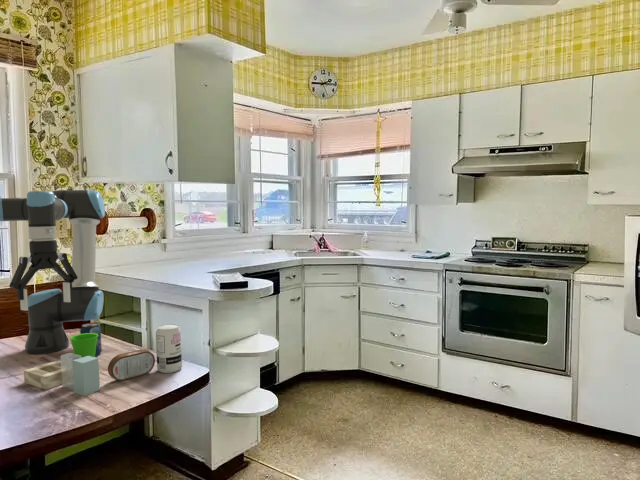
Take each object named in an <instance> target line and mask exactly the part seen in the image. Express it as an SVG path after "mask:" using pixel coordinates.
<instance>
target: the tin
mask: <svg viewBox="0 0 640 480" xmlns="http://www.w3.org/2000/svg"><path fill="white" fill-rule="evenodd" d="M155 364H156V358H155V355H154V354H153V353H152V352H151V351H150V350H149V349H146V348H144V349H143V348H142V349H141V348H140V349H138V350H134V351H133V350H132V351H127V352H124V353H119V354H117V355H115V356H114V357H112V359H111V360H110V361H109V363H108V366H107V373H108V375H109V377H110V378H112V379H115V381H119V382H120V381H122V382H123V381H126V380H130V379H133V378H137V377H141V376H145V375H148V374H149V373H150V372H151V371H152V370H153V368H154V366H155Z"/></svg>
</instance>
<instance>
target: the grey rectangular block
mask: <svg viewBox="0 0 640 480" xmlns="http://www.w3.org/2000/svg"><path fill="white" fill-rule="evenodd" d="M79 358H81V355H77V354H74V352H73V353H72V352H68V353H64V354H61V355H60V363H61V373H62V384H61V387H62V388H66V389H68V388H69V389H68V390H72V391H74V372H73V360H76V359H79Z"/></svg>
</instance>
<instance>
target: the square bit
mask: <svg viewBox="0 0 640 480" xmlns="http://www.w3.org/2000/svg"><path fill="white" fill-rule="evenodd" d="M99 366H100V365H99V357H91V356H86V357H83V358H79V359H76V360H73V372H74V390H73V392H74V393H75V394H76V395H77V394H78V395H81V396H85V397H86V396H88V395H91V394H93V393H95V391H96V392H98V391H100V390H101V388H100V387H101V386H100V384H101V383H100V368H99ZM90 393H91V394H90Z"/></svg>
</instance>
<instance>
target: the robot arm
mask: <svg viewBox="0 0 640 480" xmlns="http://www.w3.org/2000/svg"><path fill="white" fill-rule="evenodd" d="M105 216H106V207H105V201H104V199H103V196H102V194H101V192H100V191H98V190H95V189H94V190H92V189H68V190H66V189H59V190H52V191H51V190H32V191H31V190H30V191H28V192H27V193H26V196H20V197H7V198H5V197H4V198H2V197H0V222H18V221H19V222H21V221H26V222H28V223H27V224H28V227H27V229H28V239H29V240H30V241H28V242H29V243H28V245H29V252H30V255H29V256H28V257H27V256H20V257H19V258H18V259H19V261H18V265H17V268H16V269H15V272H14V275H13V276H12V279H11V280H10V283H9V289H10V288H11V289H14V290H16V299H17V300H18V301H19V303H20V311H27V316H28V330H29V331H28V334H27V338H26V342H25V346H24V352H25V353H26V354H31V355H43V354H51V353H54V352H55V353H56V352H59V351H62V350H65V349H66V348H68V347H69V345H70V342H69V340H70V339H69V337H68V335H67V333H66V331H65V328H64V323H65V322H80V321H82V322H88V321H94V320H97V319H99V317H100V316H101V315H102V311H103V307H104V300H105V299H104V295H105V294H104V291H102V290H100V286H99V285H98V284H97V283H96V254H97V252H96V250H97V249H96V247H97V246H96V245H97V225H99V224H100V223H101V219H103V218H104V217H105ZM62 219H68V222H69V223H70V224H71V225H72V254H71V255H72V256H71V263H70V261H69V259H68V254H67V252H60V253H57V251H58V241H57V240H56V238H57V228H56V227H57V224H56V222H57V221H59V220H62ZM58 260H59V262H60V263H61V265H62V267H63V268H64V269H63V268H62V267H61V266H60V265H59V263H58V262H57V261H58ZM29 263H31V265H29ZM28 265H29V267H28ZM27 267H28V269H27ZM26 269H27V271H26ZM46 269H48V270H50V269H52V270H54V272H56V274H57V275H58V276H59V277H60V278H61V279H63V280H64V282H62V289H60V288H52V289H46V290H41V291H37V292H34V293H31V294H30V295H28V289H27V288H26V286H28V284H29V282H30V281H31V279H32V278H33V277H34V276H35V274H36V273H37V272H38V271H39V270H40V271H41V270H43V271H44V270H46Z"/></svg>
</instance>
